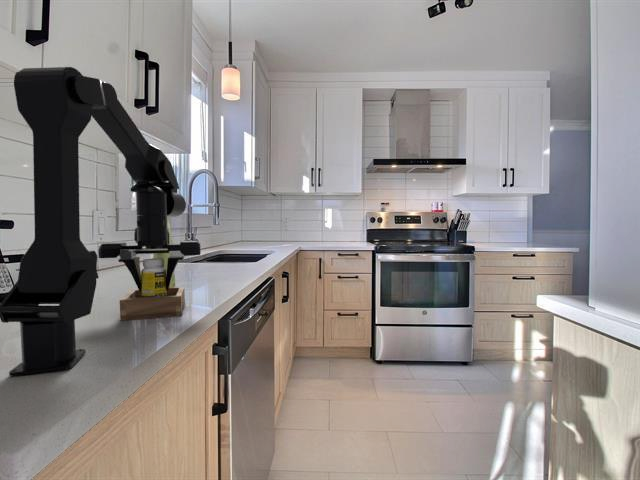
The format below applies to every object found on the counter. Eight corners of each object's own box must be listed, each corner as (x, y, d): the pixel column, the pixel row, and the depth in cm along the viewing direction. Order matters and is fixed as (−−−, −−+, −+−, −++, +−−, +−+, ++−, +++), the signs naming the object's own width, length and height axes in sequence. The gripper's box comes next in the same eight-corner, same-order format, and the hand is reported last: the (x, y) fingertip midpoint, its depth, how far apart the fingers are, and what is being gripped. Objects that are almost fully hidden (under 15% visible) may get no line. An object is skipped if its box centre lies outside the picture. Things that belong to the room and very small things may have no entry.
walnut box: (181, 315, 71) (181, 296, 71) (120, 320, 68) (119, 300, 67) (184, 303, 81) (184, 286, 81) (132, 307, 78) (131, 289, 78)
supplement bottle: (157, 302, 71) (155, 260, 71) (136, 301, 72) (135, 260, 72) (171, 297, 76) (170, 258, 75) (152, 296, 77) (151, 258, 76)
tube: (180, 301, 84) (178, 219, 83) (158, 305, 80) (155, 219, 79) (171, 297, 88) (168, 219, 87) (149, 301, 84) (147, 220, 83)
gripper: (200, 216, 83) (201, 281, 84) (111, 216, 78) (113, 286, 79) (199, 215, 73) (201, 290, 74) (96, 215, 67) (99, 296, 68)
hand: (154, 290), depth 74 cm, fingers closed on supplement bottle, 5 cm apart
